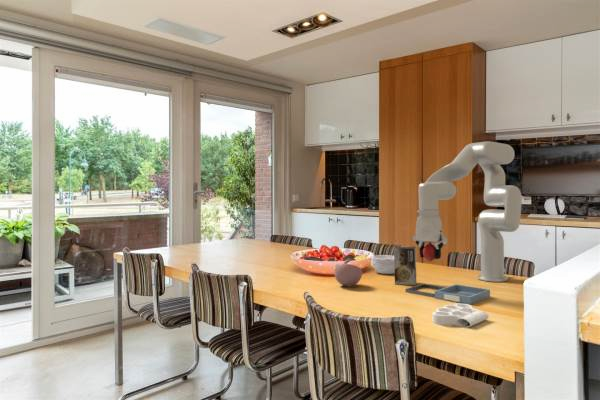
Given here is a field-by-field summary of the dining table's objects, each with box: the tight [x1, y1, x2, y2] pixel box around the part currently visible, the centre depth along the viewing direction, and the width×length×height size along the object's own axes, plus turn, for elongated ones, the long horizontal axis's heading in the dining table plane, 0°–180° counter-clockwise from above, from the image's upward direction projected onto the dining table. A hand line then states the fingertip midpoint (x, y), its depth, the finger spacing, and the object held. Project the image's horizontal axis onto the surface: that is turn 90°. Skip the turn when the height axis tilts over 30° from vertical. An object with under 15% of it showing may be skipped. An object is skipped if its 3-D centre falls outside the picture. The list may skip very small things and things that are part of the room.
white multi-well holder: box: [432, 303, 490, 329], centre depth 140 cm, size 3×18×15 cm
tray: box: [434, 283, 491, 306], centre depth 167 cm, size 16×14×3 cm
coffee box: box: [393, 245, 417, 286], centre depth 194 cm, size 9×6×16 cm
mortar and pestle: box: [333, 258, 363, 287], centre depth 191 cm, size 12×12×11 cm
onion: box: [423, 242, 436, 262], centre depth 177 cm, size 6×6×8 cm
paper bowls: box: [370, 254, 395, 275], centre depth 220 cm, size 15×15×8 cm
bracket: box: [405, 283, 446, 298], centre depth 178 cm, size 14×13×1 cm
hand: (430, 257), depth 178 cm, fingers closed on onion, 5 cm apart
